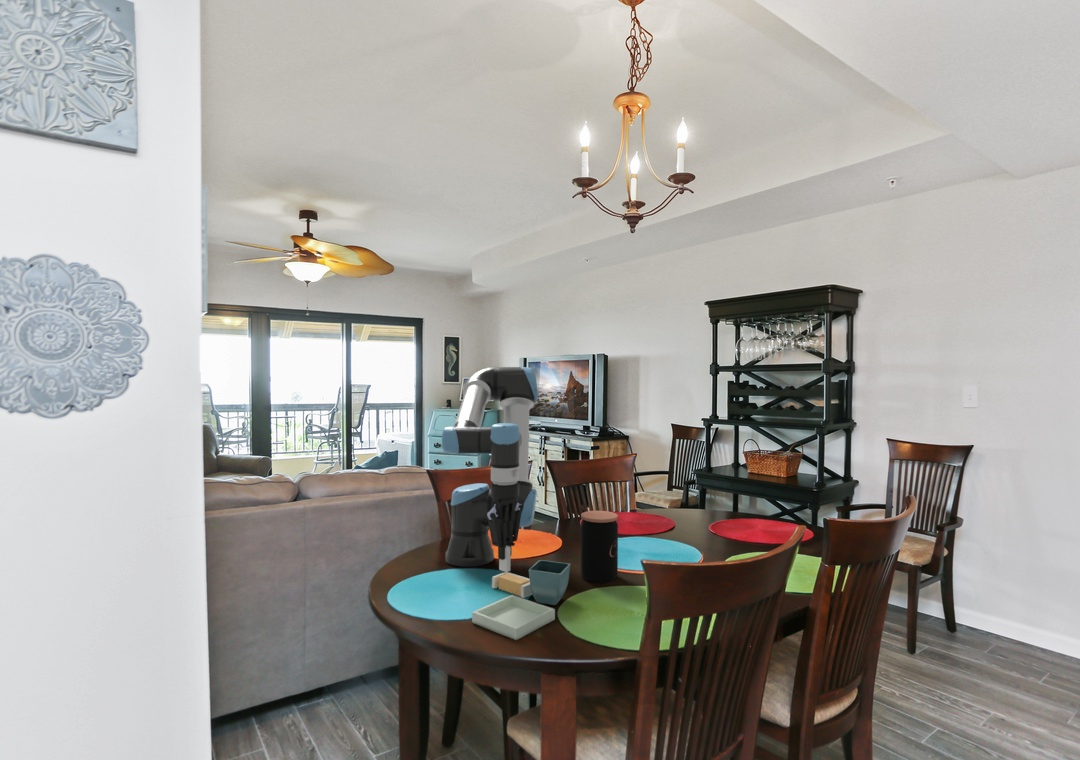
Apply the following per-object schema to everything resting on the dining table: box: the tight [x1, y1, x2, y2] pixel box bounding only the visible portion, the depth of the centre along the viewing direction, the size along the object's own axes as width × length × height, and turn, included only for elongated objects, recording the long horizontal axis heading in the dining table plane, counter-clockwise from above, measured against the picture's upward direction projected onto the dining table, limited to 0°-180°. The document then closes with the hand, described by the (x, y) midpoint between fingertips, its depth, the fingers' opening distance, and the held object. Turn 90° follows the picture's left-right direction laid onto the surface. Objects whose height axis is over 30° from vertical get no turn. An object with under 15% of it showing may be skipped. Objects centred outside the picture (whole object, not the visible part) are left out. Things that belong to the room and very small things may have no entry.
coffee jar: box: [580, 510, 619, 584], centre depth 164 cm, size 11×11×18 cm
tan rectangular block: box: [498, 573, 529, 597], centre depth 154 cm, size 8×4×4 cm, turn 50°
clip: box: [491, 571, 533, 599], centre depth 154 cm, size 11×6×3 cm, turn 51°
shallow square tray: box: [471, 594, 556, 641], centre depth 134 cm, size 14×14×2 cm
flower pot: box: [528, 559, 571, 606], centre depth 147 cm, size 9×9×9 cm
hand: (504, 570), depth 152 cm, fingers closed
